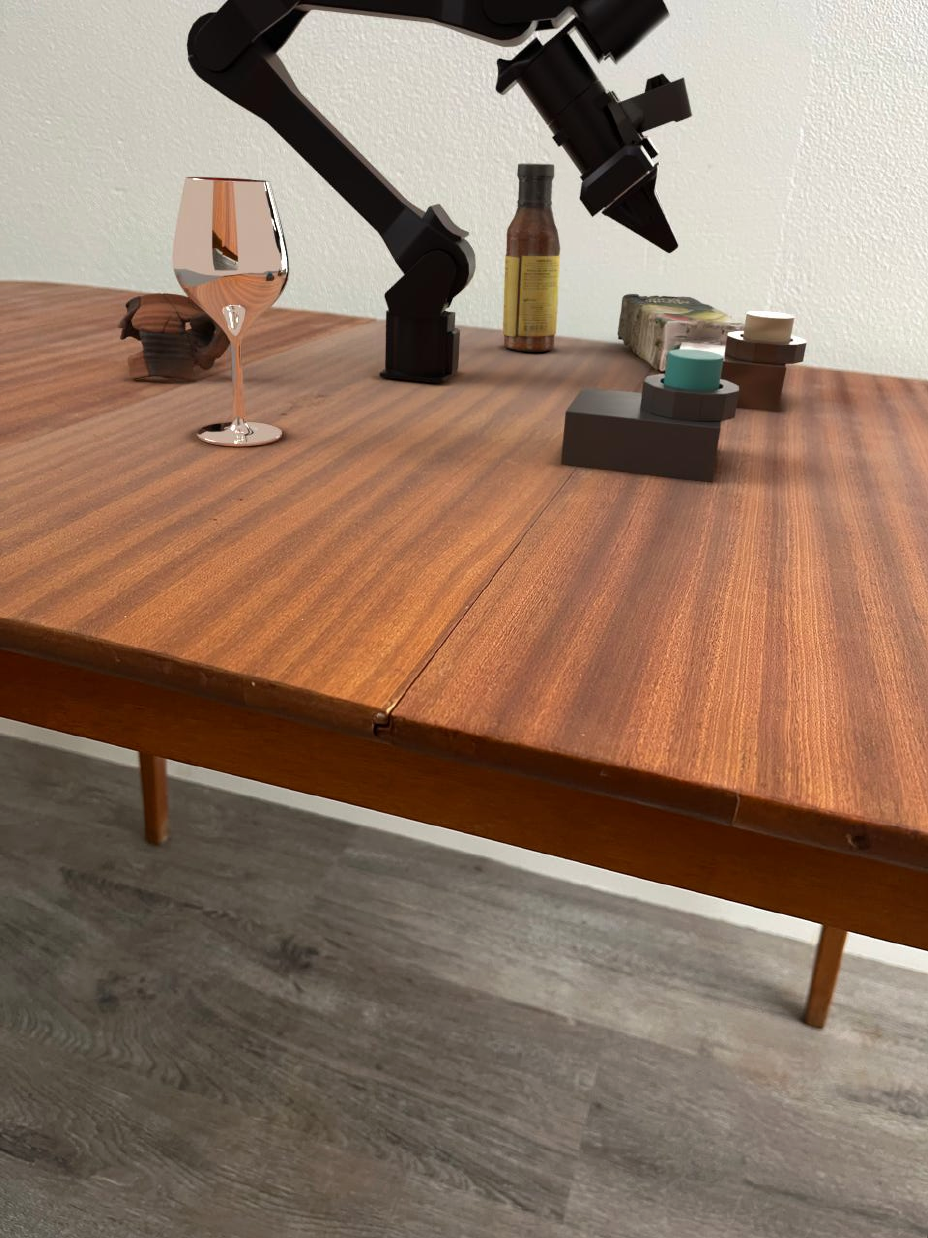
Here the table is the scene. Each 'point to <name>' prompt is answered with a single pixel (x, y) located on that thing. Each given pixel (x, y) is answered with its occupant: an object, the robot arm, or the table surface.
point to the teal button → (693, 369)
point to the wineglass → (231, 275)
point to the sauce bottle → (532, 264)
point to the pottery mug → (171, 336)
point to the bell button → (768, 326)
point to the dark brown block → (648, 429)
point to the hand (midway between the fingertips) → (674, 249)
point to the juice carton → (670, 325)
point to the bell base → (755, 367)
